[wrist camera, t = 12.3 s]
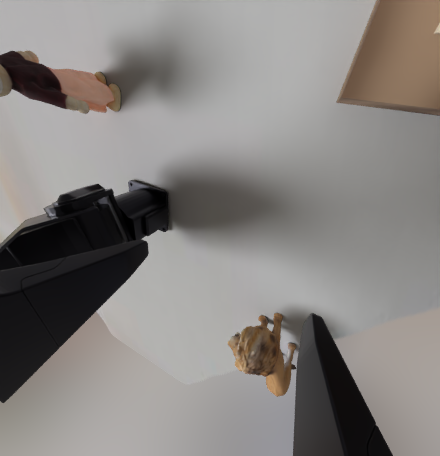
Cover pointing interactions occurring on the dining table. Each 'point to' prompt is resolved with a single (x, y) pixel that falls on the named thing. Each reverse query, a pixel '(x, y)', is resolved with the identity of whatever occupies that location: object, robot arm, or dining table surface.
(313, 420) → the robot arm
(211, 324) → the dining table surface
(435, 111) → the plinth
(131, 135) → the dining table surface
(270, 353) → the lion figurine
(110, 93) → the grandmother figurine
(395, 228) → the dining table surface
